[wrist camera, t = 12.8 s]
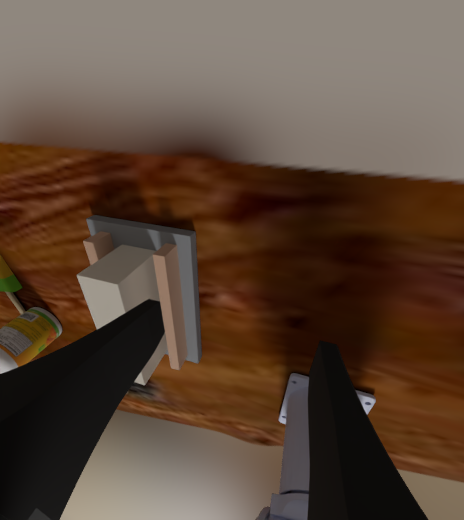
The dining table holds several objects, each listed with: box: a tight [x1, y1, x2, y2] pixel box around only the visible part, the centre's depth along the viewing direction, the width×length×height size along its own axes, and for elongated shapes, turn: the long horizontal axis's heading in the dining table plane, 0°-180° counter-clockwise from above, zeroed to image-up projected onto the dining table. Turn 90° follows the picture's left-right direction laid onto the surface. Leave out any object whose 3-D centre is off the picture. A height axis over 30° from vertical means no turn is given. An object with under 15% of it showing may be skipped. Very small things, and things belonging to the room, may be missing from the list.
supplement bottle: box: [0, 307, 62, 374], centre depth 31 cm, size 5×5×10 cm
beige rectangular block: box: [77, 245, 168, 385], centre depth 22 cm, size 12×4×5 cm, turn 178°
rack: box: [83, 215, 202, 370], centre depth 24 cm, size 16×10×3 cm, turn 178°
